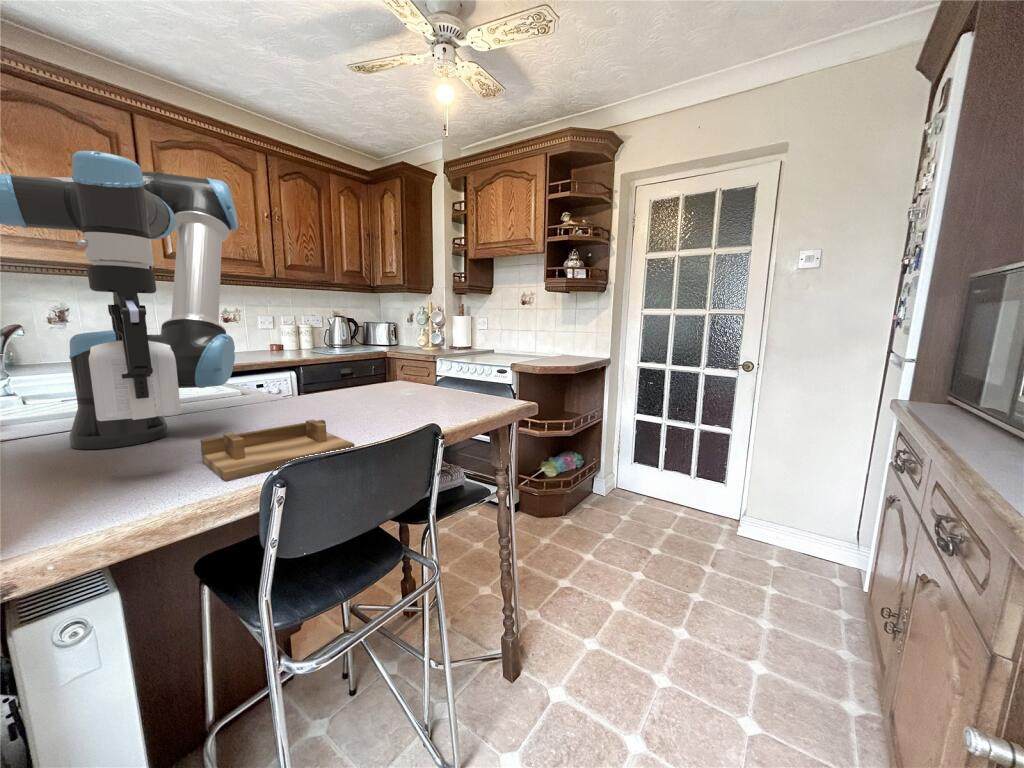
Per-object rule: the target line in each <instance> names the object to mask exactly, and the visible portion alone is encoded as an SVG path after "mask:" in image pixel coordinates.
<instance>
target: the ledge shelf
mask: <svg viewBox="0 0 1024 768" xmlns="http://www.w3.org/2000/svg"><path fill="white" fill-rule="evenodd" d="M351 447H355V443H354V442H352V441H349V440H346V439H344V438H341V437H339V436H336V435H334V434H332V433H329V432H327V424H326V420H324V419H319V420H315V419H308V420H305V422H300V423H294V424H289V425H281V426H277V427H271V428H265V429H257V430H254V431H247V432H240V433H235V432H228V433H223V435H222V436H218V437H217V436H216V437H211V438H205V439H200V449H201V459H202V463H204V464H205V465H206V466H207V467H209V469H211V470H212V472H214V473H215V474H216V475H218V476H219V477H220V478H221V479H222V480H223V481H224V482H228V481H233V480H239V479H241V478H245V477H250V476H254V475H255V476H256V475H259V474H262V473H266V472H271V471H272V472H273V471H274V470H275V469H276V468H277V467H279V466H281V465H283V464H285V463H286V462H288V461H291V460H293V459H296V458H300V457H305V456H309V455H315V454H321V453H326V452H330V451H336V450H341V449H346V448H351ZM276 470H277V469H276ZM276 470H275V471H276Z"/></svg>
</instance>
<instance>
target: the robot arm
mask: <svg viewBox="0 0 1024 768" xmlns="http://www.w3.org/2000/svg"><path fill="white" fill-rule="evenodd" d="M71 166H72V171H71V172H72V176H71V177H63V176H60V177H59V176H58V177H57V176H46V177H45V176H44V177H43V176H25V175H15V174H11V173H6V174H4V173H0V225H3V226H10V227H11V226H13V227H19V228H20V227H21V228H24V229H28V228H29V229H31V228H33V229H48V230H64V231H78V232H79V231H80V232H81V233H82V238H79V239H77V241H76V243H77V245H78V246H79V247H84V248H85V247H86V248H85V249H84V254H85V260H86V261H88V262H89V263H92V264H91V265H88V267H86V272H87V278H88V285H89V289H90V290H91V291H93V292H100V293H101V292H102V293H112V298H113V304H107V309H108V310H107V311H108V314H109V316H110V317H111V324H112V325H111V326H112V330H100V331H92V332H82V333H77V334H75V335H73V336H72V337H71V338H70V339H69V360H70V364H71V365H70V366H71V371H72V378H73V384H74V390H75V395H76V401H77V402H76V403H77V410H76V413H75V417H74V419H73V422H72V426H71V429H70V433H69V443H70V447H71V448H72V449H78V450H102V449H103V450H104V449H112V448H120V447H128V446H134V445H135V446H136V445H139V444H142V443H143V444H144V443H149V442H152V441H155V440H158V439H161V438H164V437H166V436H167V435H168V434H169V429H168V423H167V421H166V419H165V418H164V417H165V416H156V415H155V407H154V399H153V391H152V383H151V376H150V374H152V371H153V369H152V367H151V359H150V351H149V344H148V341H153V342H159V343H163V344H167V345H170V346H171V350H172V351H173V353H174V356H175V359H176V368H177V378H178V388H179V389H190V388H191V389H192V388H193V389H194V388H198V389H204V388H208V387H209V388H210V387H219V386H220V387H221V386H223V385H225V384H226V383H227V382H228V381H229V380H230V378H231V376H232V373H233V371H234V367H235V366H234V365H235V361H236V360H235V359H236V354H235V351H236V349H235V348H236V346H235V342H234V339H233V337H232V336H231V335H229V334H227V330H226V328H225V327H224V326H222V325H221V324H220V323H219V321H220V298H221V297H220V295H221V272H222V266H221V265H222V249H223V247H222V246H223V245H222V243H223V242H225V241H227V240H228V238H229V237H230V231H231V232H233V231H237V230H238V229H239V223H238V222H239V220H238V216H237V211H236V207H235V203H234V199H233V194H232V192H231V189H230V187H229V185H228V184H227V183H226V182H224V181H223V180H220V179H213V178H209V177H205V178H202V177H194V176H189V175H180V174H174V173H173V174H172V173H166V172H157V171H151V170H149V171H147V170H145V171H144V170H143V171H142V168H141V167H140V166H141V165H139V164H138V163H137V162H135V161H133V160H132V159H129V158H126V157H124V156H121V155H116V154H112V153H108V152H104V151H103V152H101V151H94V150H80V151H76V152H74V153H73V154H72V156H71ZM174 231H175V232H176V233H177V237H176V250H175V251H176V252H175V265H174V278H173V292H172V305H171V318H169V319H167V320H166V321H164V322H163V323H162V324H161V327H160V328H161V329H160V334H148V327H147V320H146V316H147V309H146V305H143V304H140V299H139V296H138V294H154V293H156V292H157V284H156V276H155V271H153V269H150V267H152V266H153V265H154V264H155V263H154V256H153V246H152V240H161V239H165V238H167V237H168V236H170V235H171V234H172V233H173V232H174ZM114 341H123V347H124V353H125V359H126V365H127V371H128V373H127V374H122V379H125V378H127V384H128V391H129V399H130V406H131V413H132V419H120V420H109V421H98V420H97V418H96V411H95V404H94V396H93V389H92V381H91V374H90V366H89V355H90V349H91V347H92V346H95V345H99V344H103V343H108V342H114Z"/></svg>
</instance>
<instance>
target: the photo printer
mask: <svg viewBox="0 0 1024 768" xmlns="http://www.w3.org/2000/svg"><path fill="white" fill-rule="evenodd" d="M148 344H149V351H150V359H151V367H152V369H153V371H152V374H150V376H151V383H152V391H153V399H154V407H155V415H156V416H163V417H165V416H167V417H168V416H177V415H180V413H181V412H182V411H181V402H180V401H181V400H180V388H178V378H177V368H176V359H175V356H174V353H173V351H172V350H171V346H170V345H167V344H163V343H159V342H153V341H148ZM89 366H90V374H91V381H92V389H93V396H94V404H95V411H96V418H97V420H98V421H109V420H120V419H132V413H131V406H130V399H129V391H128V384H127V378H125V379H122V374H127V373H128V371H127V365H126V359H125V353H124V347H123V341H114V342H108V343H103V344H99V345H95V346H92V347H91V349H90V355H89Z"/></svg>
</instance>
